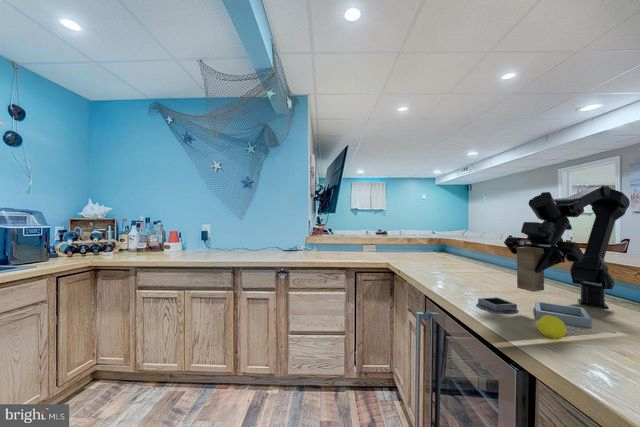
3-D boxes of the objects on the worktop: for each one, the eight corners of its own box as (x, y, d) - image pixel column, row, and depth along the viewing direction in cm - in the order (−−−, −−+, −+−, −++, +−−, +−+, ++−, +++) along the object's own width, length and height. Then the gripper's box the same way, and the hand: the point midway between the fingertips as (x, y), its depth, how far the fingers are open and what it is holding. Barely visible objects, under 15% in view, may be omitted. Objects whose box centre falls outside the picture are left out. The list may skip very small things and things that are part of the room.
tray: (535, 310, 85) (535, 300, 85) (583, 318, 79) (583, 307, 79) (536, 321, 76) (536, 310, 76) (591, 331, 70) (591, 319, 70)
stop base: (498, 304, 91) (498, 295, 91) (528, 316, 80) (528, 306, 80) (468, 306, 89) (468, 297, 89) (495, 318, 79) (495, 308, 79)
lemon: (565, 348, 62) (564, 325, 62) (535, 340, 66) (534, 319, 66) (567, 334, 67) (567, 313, 67) (539, 328, 71) (539, 308, 71)
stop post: (527, 286, 83) (526, 246, 83) (544, 290, 79) (543, 248, 79) (517, 287, 82) (516, 247, 82) (533, 291, 78) (532, 249, 78)
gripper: (507, 212, 90) (483, 248, 87) (576, 212, 73) (550, 256, 69) (524, 235, 93) (501, 271, 89) (594, 240, 76) (570, 284, 72)
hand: (527, 270), depth 80 cm, fingers closed on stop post, 4 cm apart
